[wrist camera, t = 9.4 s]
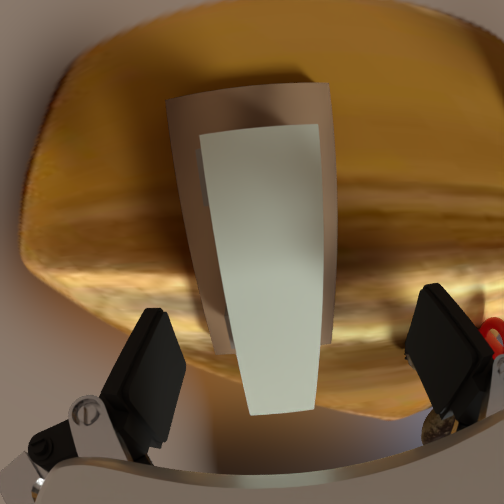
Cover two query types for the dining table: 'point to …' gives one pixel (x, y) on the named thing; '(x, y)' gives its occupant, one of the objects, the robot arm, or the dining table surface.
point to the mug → (498, 325)
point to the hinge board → (195, 191)
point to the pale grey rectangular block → (270, 257)
